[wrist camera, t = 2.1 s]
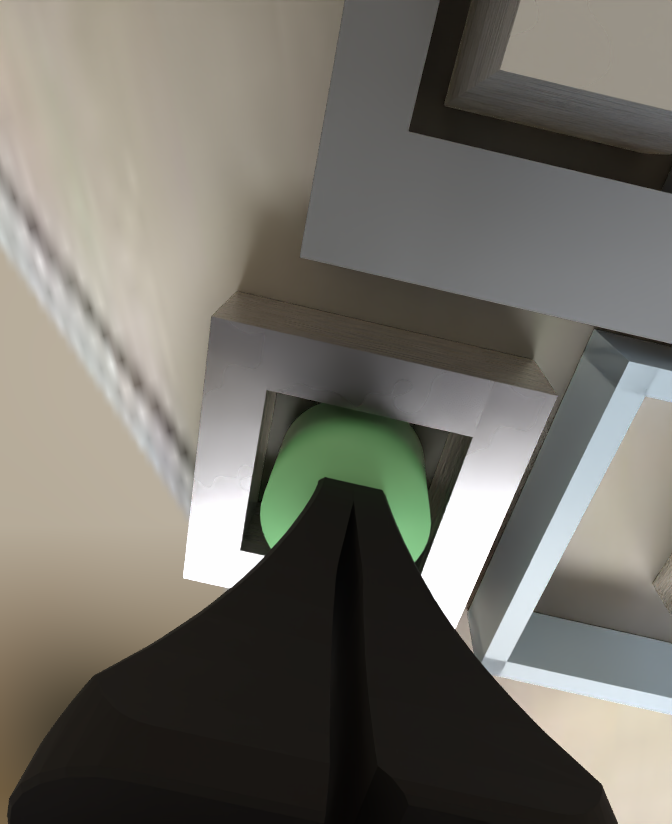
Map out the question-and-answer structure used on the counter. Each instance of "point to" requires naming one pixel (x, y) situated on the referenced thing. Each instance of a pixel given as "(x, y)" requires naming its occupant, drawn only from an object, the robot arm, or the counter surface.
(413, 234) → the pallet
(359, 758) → the robot arm
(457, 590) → the button housing
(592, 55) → the block
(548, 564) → the light blue rectangular frame
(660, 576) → the billet
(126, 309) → the counter surface
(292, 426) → the button
